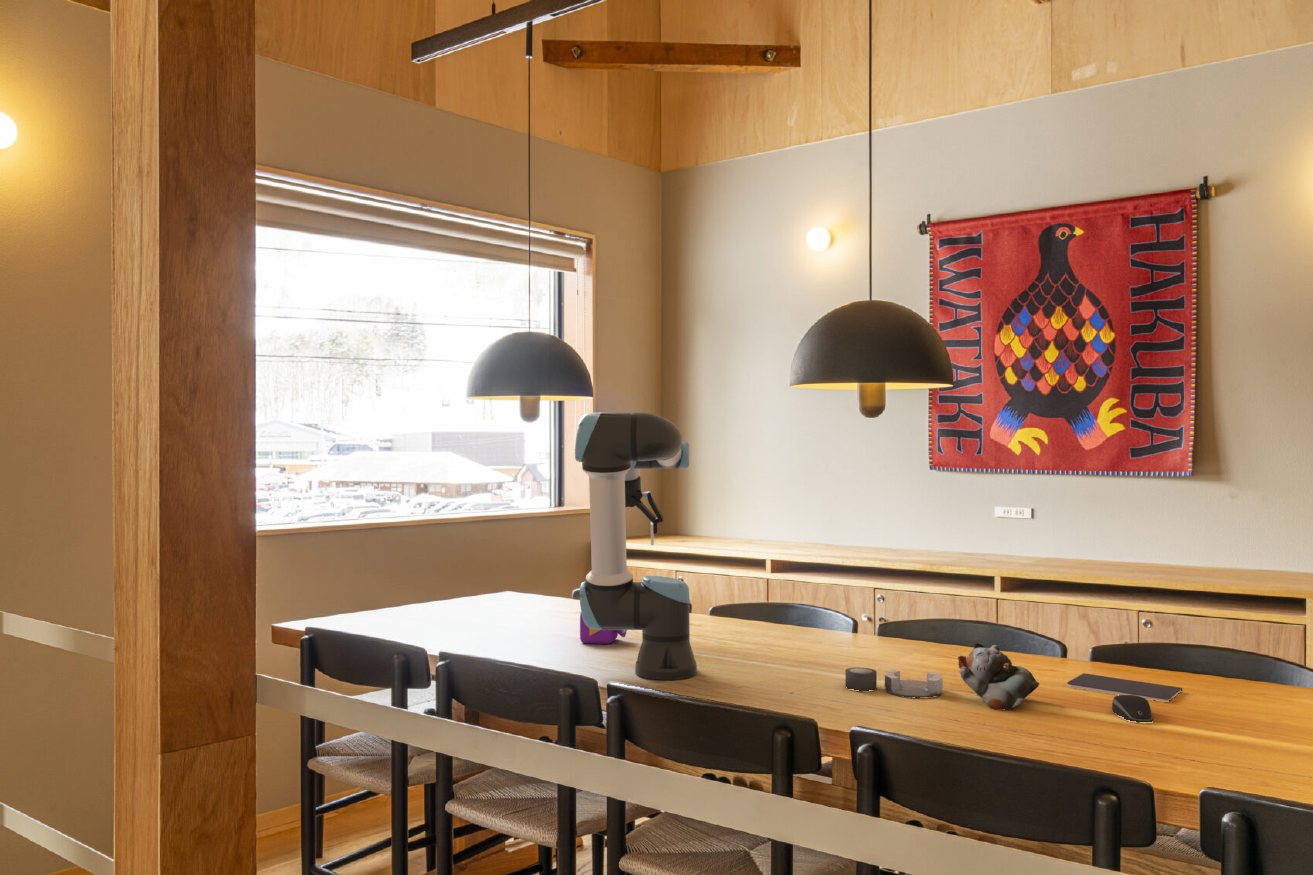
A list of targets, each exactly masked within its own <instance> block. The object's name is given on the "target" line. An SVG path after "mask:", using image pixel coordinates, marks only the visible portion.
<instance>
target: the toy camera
mask: <svg viewBox="0 0 1313 875" xmlns="http://www.w3.org/2000/svg"><path fill="white" fill-rule="evenodd" d="M627 632H628V630H601V629H590V628H588V627H587V626H586V624H585V623H584V620H583V617H582V613H581V612H580V616H579V639H580V642H581V643H583V644H595V645H597V644H598V645H609V644H611V643H613V642H614V641H615V640H616V639H617V638H618V635H619V636H621V637H622V638H625V637H626V635H627Z"/></svg>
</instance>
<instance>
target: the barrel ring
mask: <svg viewBox="0 0 1313 875" xmlns="http://www.w3.org/2000/svg"><path fill="white" fill-rule="evenodd" d="M885 690H886V691H885ZM884 691H885V692H886V693H887V694H890V695H893V696H898V697H901V696H904V697H903V698H907V697H911V698H910V699H913V698H912V697H915V698H914V699H921V698H920V697H933V696H938V697H940V696H942V695H943V675H942V674H940V673H938V672H935V671H932V672H931V671H930V672H926V681H924V680H920V679H919V680H917V679H901V671H900V670H896V669H889V670H886V671H884ZM941 694H942V695H941ZM933 698H934V697H933Z"/></svg>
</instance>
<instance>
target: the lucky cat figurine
mask: <svg viewBox="0 0 1313 875" xmlns="http://www.w3.org/2000/svg"><path fill="white" fill-rule="evenodd" d="M957 660H958V669H959V677H960V678H961V679H962V680H963V681H964V682H963V683H965V684H966V685H967V686H968V687H969V688H970V689H971V690H972V691H974V693H975V694H976V695H977V696H978V697H979V698H981V699H982V700H983V701H984V702H985V703H986V705H988V706H989V707H990V708H992V709H993V708H994V710H999V709H1005V710H1004V711H1011V709H1012V708H1013V709H1014V708H1015V707H1016V706H1019V705H1021V704H1022V703H1023V702H1024V700H1025V699H1026V698H1027V697H1028V696H1029V695H1030V694H1032V693H1034V691H1035V690H1037V688H1038V687H1039V686H1040V682H1038V681H1037V680H1036V679H1035V677H1034V675H1033V674H1032V673H1031V671H1030V670H1029V669H1027V668H1025V667H1023V666H1020V665H1019V666H1018V665H1013V663H1012V661H1011V659H1010V658H1009V657H1008V656H1007V655H1006V654H1005V653H1003V652H1002V651H1001V649H1000V647H999V646H998V645H997V644H993V645H991V647H985V646H984V645H982V644H981V643H979V642H975V643H974V644H973V648H972V650H971V652H969V654H968V656H964V655H959V656H957Z"/></svg>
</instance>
